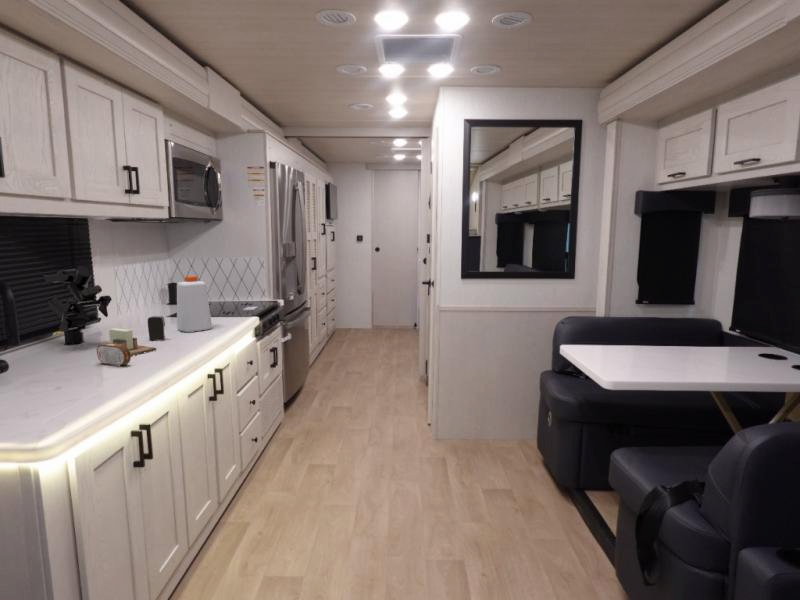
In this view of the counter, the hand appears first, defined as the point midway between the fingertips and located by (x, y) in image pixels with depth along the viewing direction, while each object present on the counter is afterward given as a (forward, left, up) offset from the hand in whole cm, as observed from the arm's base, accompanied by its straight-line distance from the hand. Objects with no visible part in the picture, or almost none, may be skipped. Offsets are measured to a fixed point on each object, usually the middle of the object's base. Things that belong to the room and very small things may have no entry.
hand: (98, 317), depth 214 cm
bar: (+11, -11, -12) cm, 19 cm away
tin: (+12, -34, -14) cm, 39 cm away
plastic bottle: (+37, +28, -14) cm, 48 cm away
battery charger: (+22, +8, -14) cm, 27 cm away
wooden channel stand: (+14, -14, -13) cm, 24 cm away
